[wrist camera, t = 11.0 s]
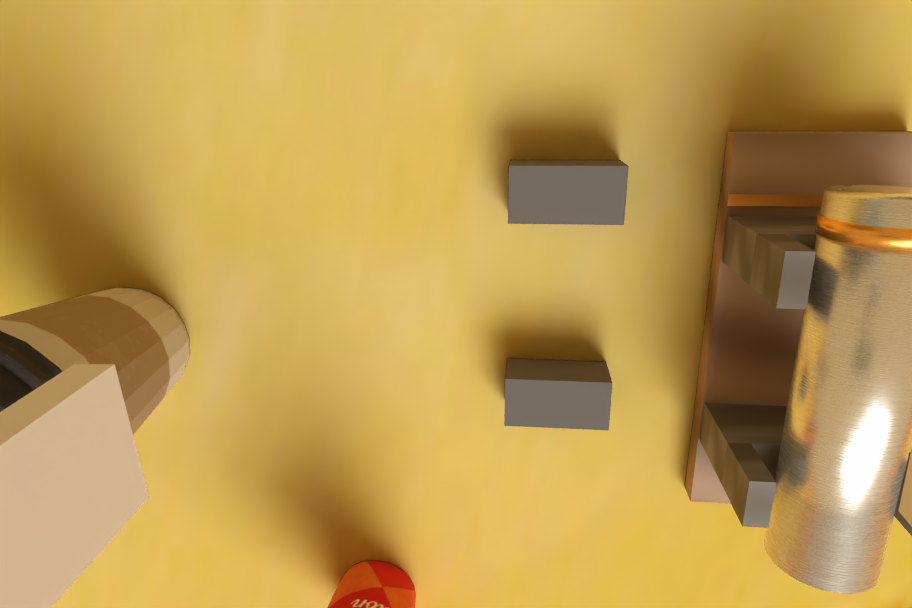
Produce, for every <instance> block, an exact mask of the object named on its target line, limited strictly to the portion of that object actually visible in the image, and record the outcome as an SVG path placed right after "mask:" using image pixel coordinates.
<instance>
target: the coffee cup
mask: <svg viewBox="0 0 912 608" xmlns="http://www.w3.org/2000/svg"><path fill="white" fill-rule="evenodd" d="M189 355H190V342H189V336H188V333H187V330H186V327H185V325H184V322H183V321H182V319H181V318H180V316H179V315H178V314H177V312H176V311H175V310H174V308H173V307H172V306H170V305H169V304H168V303H167V302H165V301H164V300H163V299H162V298H161V297H159V296H157V295H155V294H152V293H150V292H148V291H145V290H142V289H134V288H112V289H107V290H102V291H98V292H94V293H90V294H87V295H83V296H79V297H75V298H71V299H67V300H64V301H60V302H56V303H52V304H48V305H44V306H41V307H37V308H33V309H29V310H25V311H21V312H18V313H14V314H10V315H6V316H2V317H0V412H1V411H3V410H4V409H6V408H7V407H9V406H10V405H12V404H14V403H15V402H17V401H18V400H20V399H21V398H23V397H24V396H26V395H27V394H29V393H31V392H32V391H34V390H35V389H37V388H38V387H40V386H41V385H43V384H44V383H46V382H47V381H49V380H51V379H52V378H54V377H55V376H57V375H58V374H60V373H61V372H63V371H64V370H66V369H68V368H69V367H71V366H72V365H74V364H115V368H116V371H117V375H118V379H119V383H120V387H121V391H122V395H123V398H124V402H125V406H126V410H127V414H128V418H129V422H130V425H131V429H132V433H133V434H134V433H135V432H136V431H137V429H138V428H139V427H140V426H141V425H142V423H143V422H144V421H145V420H146V419H147V417H148V416H149V415H150V414H151V413H152V411H153V410H154V409H155V408H156V407H157V405H158V404H159V403H160V402H161V401H162V399H163V398H164V397H165V396H166V395H167V393H168V392H169V391H170V390H171V389H172V387H173V386H174V385H175V384H176V382H177V381H178V380H179V379H180V378H181V376H182V374H183V371H184V369H185V367H186V364H187V361H188V358H189Z"/></svg>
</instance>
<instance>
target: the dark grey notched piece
mask: <svg viewBox="0 0 912 608" xmlns="http://www.w3.org/2000/svg"><path fill="white" fill-rule="evenodd" d="M842 185H884V186H902V187H912V132H911V131H791V132H727V140H726V149H725V157H724V165H723V174H722V182H721V190H720V199H719V207H718V215H717V224H716V232H715V240H714V249H713V257H712V265H711V274H710V282H709V290H708V299H707V307H706V315H705V324H704V332H703V340H702V349H701V357H700V365H699V374H698V382H697V390H696V399H695V407H694V415H693V424H692V432H691V440H690V449H689V457H688V465H687V474H686V482H685V489H686V491H687V494H688V496H689V499H690V501H695V502H714V503H731V504H732V506H733V508H734V510H735V512H736V514H737V516H738V518H739V520H740V522H741V524H742V526H747V527H764V528H769V523H770V517H771V511H772V505H773V499H774V493H775V488H776V481H775V476H776V470H777V464H778V458H779V452H780V446H781V441H782V435H783V429H784V423H785V417H786V411H787V405H788V400H789V394H790V388H791V382H792V376H793V370H794V364H795V358H796V353H797V347H798V341H799V335H800V329H801V323H802V317H803V311H804V309H806V307H807V301H808V295H809V289H810V283H811V278H812V272H813V266H814V260H815V254H816V251H814V247H815V241H816V235H817V234H816V233H815V225H816V220H817V214H818V211H820V210H821V206H822V200H823V194H824V189H825V188H827V187H832V186H842ZM910 454H911V453H910V452H909V455H908V459H907V463H906V468H905V472H904V476H903V480H902V484H901V488H900V492H899V496H898V501H897V505H896V509H895V513H894V516H895V517H896V518H897V520H898V521H899V522H900V523H901V524H902V525H903V526H904V528H905V529H906V530H907V531H908V532H909V533H910V535H911V536H912V526H911V525H910V524H909V523H908V522H907V521H906V519H905V518H904V517H903V516H902V515H901V513H900V512H899V511H898V510H899V506H900V501H901V496H902V492H903V487H904V482H905V478H906V473H907V468H908V463H909V459H910Z"/></svg>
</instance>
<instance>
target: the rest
mask: <svg viewBox="0 0 912 608" xmlns="http://www.w3.org/2000/svg"><path fill="white" fill-rule="evenodd" d="M627 177H628V165H626V164H625V163H623V162H622V161H621V160H510V164H509V197H508V223H511V224H595V225H624V217H625V204H626V190H627ZM611 392H612V381H611V377H610V374H609V370H608V367H607V364H606V362H598V361H568V360H539V359H509V358H507V364H506V377H505V426H525V427H547V428H570V429H593V430H609V419H610V405H611Z"/></svg>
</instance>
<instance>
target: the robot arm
mask: <svg viewBox="0 0 912 608" xmlns="http://www.w3.org/2000/svg"><path fill="white" fill-rule="evenodd" d="M148 498H149V495H148V491H147V487H146V483H145V479H144V475H143V472H142V468H141V464H140V460H139V456H138V452H137V448H136V445H135V441H134V437H133V433H132V429H131V425H130V422H129V418H128V414H127V410H126V406H125V402H124V398H123V395H122V391H121V387H120V383H119V379H118V375H117V371H116V368H115V364H74V365H72V366H71V367H69V368H68V369H66V370H64V371H63V372H61V373H60V374H58V375H57V376H55V377H54V378H52V379H51V380H49V381H47V382H46V383H44V384H43V385H41V386H40V387H38V388H37V389H35V390H34V391H32V392H31V393H29V394H27V395H26V396H24V397H23V398H21V399H20V400H18V401H17V402H15V403H14V404H12V405H10V406H9V407H7V408H6V409H4V410H3V411H1V412H0V608H52V607H53V605H54V604H55V603H56V602H57V601H58V600H59V599H60V598H61V596H62V595H63V594H64V593H65V592H66V591H67V590H68V589H69V587H70V586H71V585H72V584H73V583H74V582H75V581H76V579H77V578H78V577H79V576H80V575H81V574H82V573H83V572H84V570H85V569H86V568H87V567H88V566H89V565H90V564H91V563H92V561H93V560H94V559H95V558H96V557H97V556H98V555H99V553H100V552H101V551H102V550H103V549H104V548H105V547H106V546H107V544H108V543H109V542H110V541H111V540H112V539H113V538H114V537H115V535H116V534H117V533H118V532H119V531H120V530H121V529H122V527H123V526H124V525H125V524H126V523H127V522H128V521H129V520H130V518H131V517H132V516H133V515H134V514H135V513H136V512H137V511H138V509H139V508H140V507H141V506H142V505H143V504H144V503H145V501H146V500H147V499H148ZM898 511H899V512H900V513H901V515H902V516H903V517H904V518H905V519H906V521H907V522H908V523H909V524H910V525H911V526H912V449H911V454H910V459H909V463H908V468H907V473H906V478H905V482H904V487H903V492H902V496H901V501H900V506H899V510H898Z"/></svg>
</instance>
